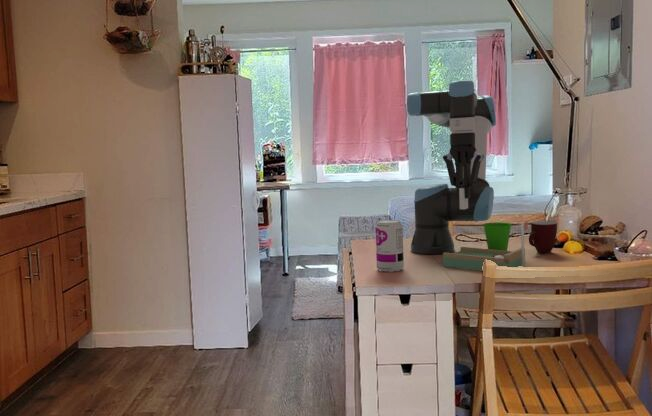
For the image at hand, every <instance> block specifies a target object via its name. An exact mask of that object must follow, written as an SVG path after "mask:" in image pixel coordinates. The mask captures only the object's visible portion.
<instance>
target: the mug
mask: <svg viewBox="0 0 652 416" xmlns="http://www.w3.org/2000/svg"><path fill="white" fill-rule="evenodd" d="M557 229H558V222H555V221H549V220H547V221H546V220H544V221H543V220H542V221H532V222H530V232H531V233H530V234H529V235H528V243H529V245H530V246H532V247H534V249H535V250H536V252H537V253H538V254H543V255H544V254H550V253H551V252H552V250H553V248H554V246H555V244H556V238H557V231H558V230H557Z"/></svg>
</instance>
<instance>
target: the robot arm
mask: <svg viewBox="0 0 652 416" xmlns="http://www.w3.org/2000/svg"><path fill="white" fill-rule="evenodd" d="M475 91H476V89H475V82H474V81H473V80H472V79H471V80H470V79H467V80H465V79H464V80H462V79H461V80H455V81H451V82H449V84H448V90H439V91H438V90H436V91H417V92H411V93H409V94H408V95H407V97H406V110H407V113H408V115H409V116H410V117H411V116H412V117H414V116H415V117H419V116H422V117H423V116H424V117H426V118H427V119H428V121H429V122H431V123H432V124H433V125H436V126H440V127H443V128H449V131H450V134H449V144H450V145H449V146H450V149H449V152H448V153H446V154H445V155H443V156H442V159H443V161H444V162H445V166H446V169H447V174H448V178H449V181H450V186H453V187H449V185H448V183H439V184H432V185H426V186H421V187H419V188H416V189H415V191H414V201H413V203H414V227H415V228H414V230H415V231H414V233H413V236H412V240H411V242H410V252H412V253H415V254H421V255H441V254H442V255H443V253H444V252H445V253H454V252H455V243H454V241H453V237H452V234H451V231H450V227H449V226H450V225H449V222H475V223H478V222H486V221H488V220H489V219H491V216H492V213H493V207H494V199H495V198H494V197H495V195H494V194H495V191H494V187H491V185H490V183H489V182H488V180H486V179H487V178H486V173H487V151H488V150H487V149H488V148H487V147H488V134H489V133H490V132H491V131H492V128H493V127H495V126H496V124H497V119H496V111H495V103H494V98H493V97H492V96H491V95H478V96H477V94H476V93H475Z"/></svg>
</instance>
